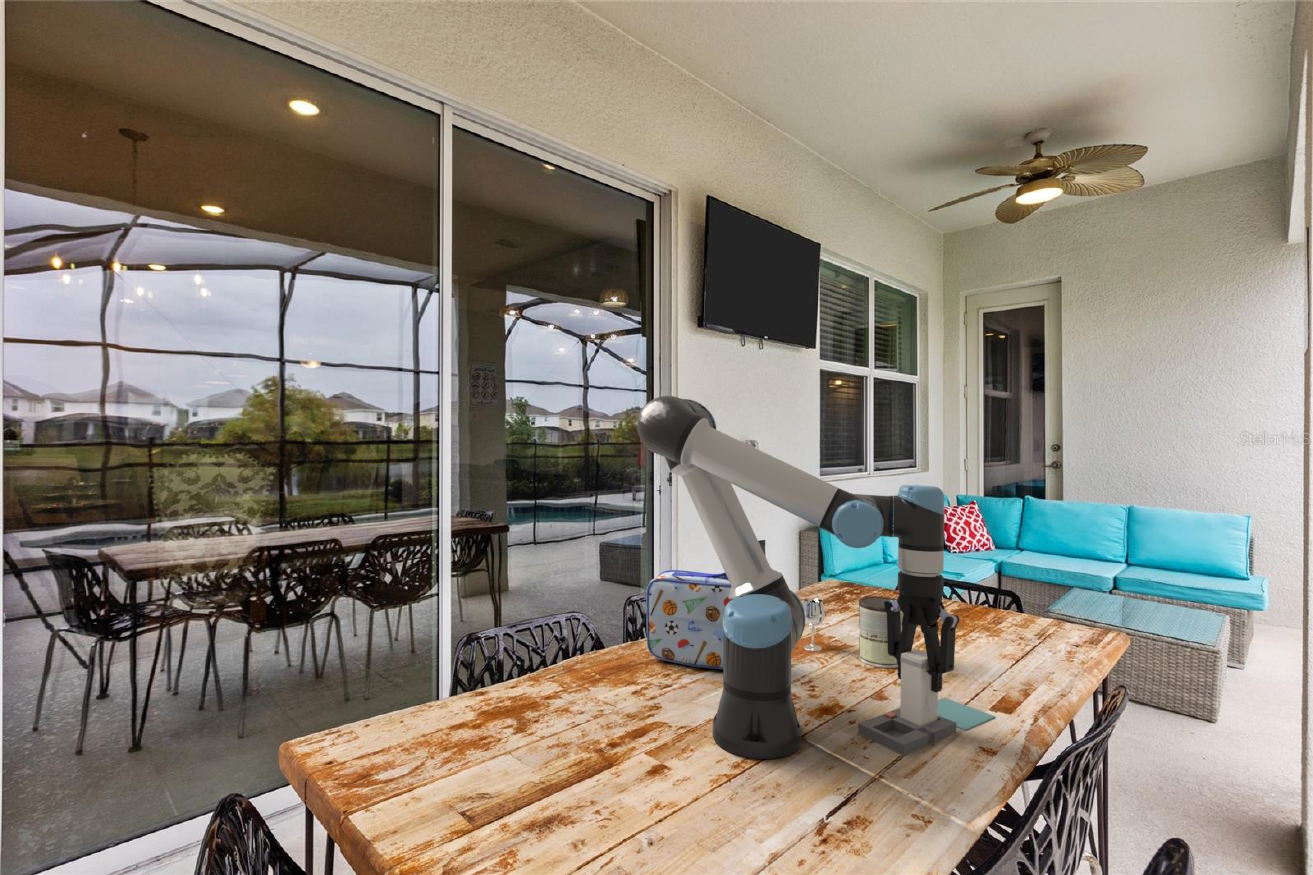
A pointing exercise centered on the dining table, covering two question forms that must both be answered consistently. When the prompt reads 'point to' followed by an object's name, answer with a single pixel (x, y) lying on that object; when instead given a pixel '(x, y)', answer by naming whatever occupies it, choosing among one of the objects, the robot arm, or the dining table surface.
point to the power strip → (904, 732)
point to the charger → (915, 688)
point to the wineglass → (813, 618)
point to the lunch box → (687, 617)
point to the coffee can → (874, 633)
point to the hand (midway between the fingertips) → (919, 703)
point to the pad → (962, 714)
